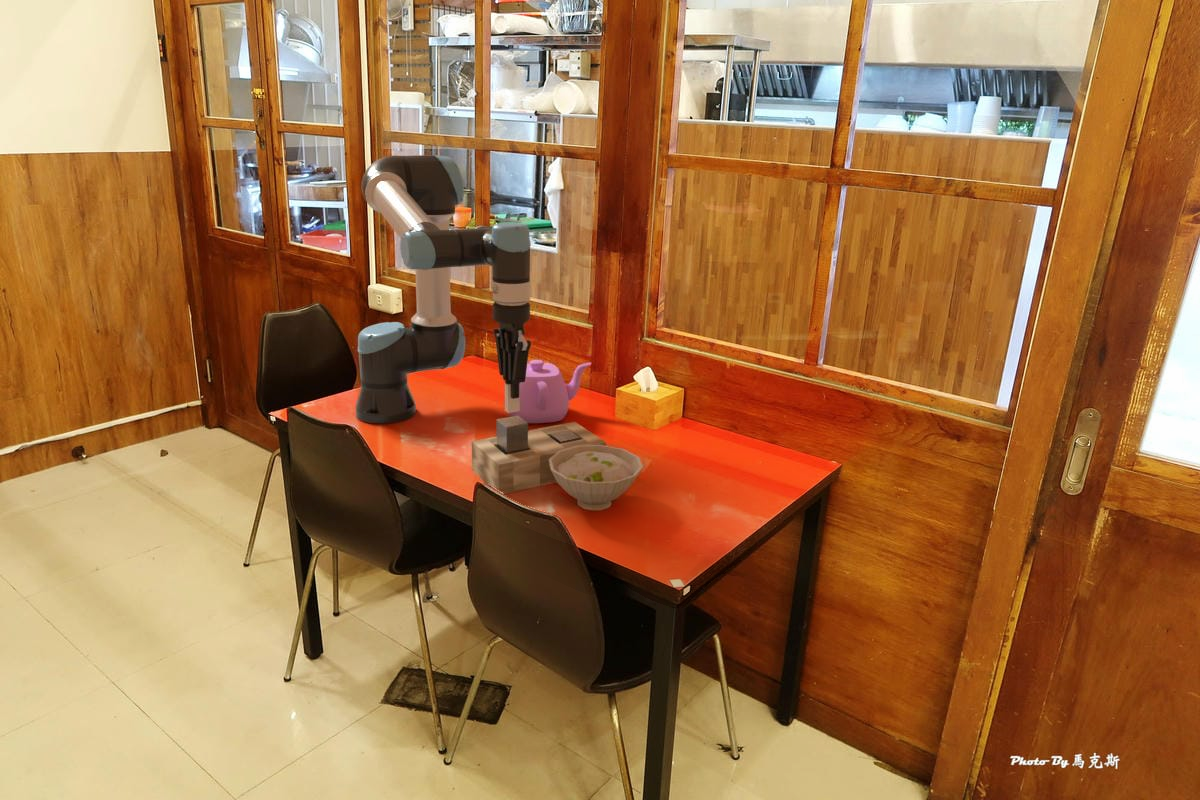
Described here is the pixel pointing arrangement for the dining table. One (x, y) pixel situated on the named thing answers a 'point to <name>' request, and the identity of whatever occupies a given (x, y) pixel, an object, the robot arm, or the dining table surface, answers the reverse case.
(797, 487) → the dining table surface
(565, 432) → the far peg
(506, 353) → the robot arm
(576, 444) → the socket block
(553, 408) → the teapot
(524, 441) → the near peg
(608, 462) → the bowl
